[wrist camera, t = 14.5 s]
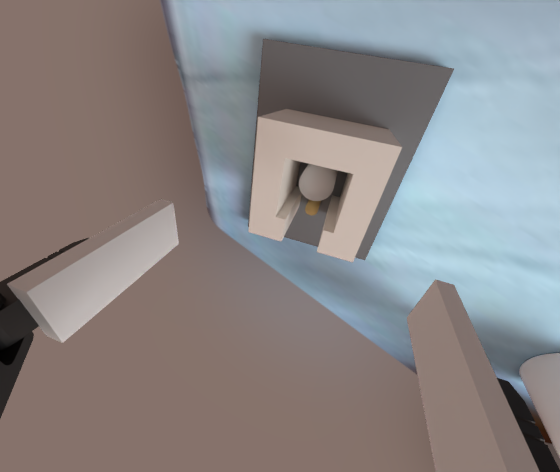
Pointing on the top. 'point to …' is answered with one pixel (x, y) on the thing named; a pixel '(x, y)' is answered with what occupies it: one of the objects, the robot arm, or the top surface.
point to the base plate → (347, 116)
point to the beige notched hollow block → (326, 153)
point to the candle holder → (545, 391)
